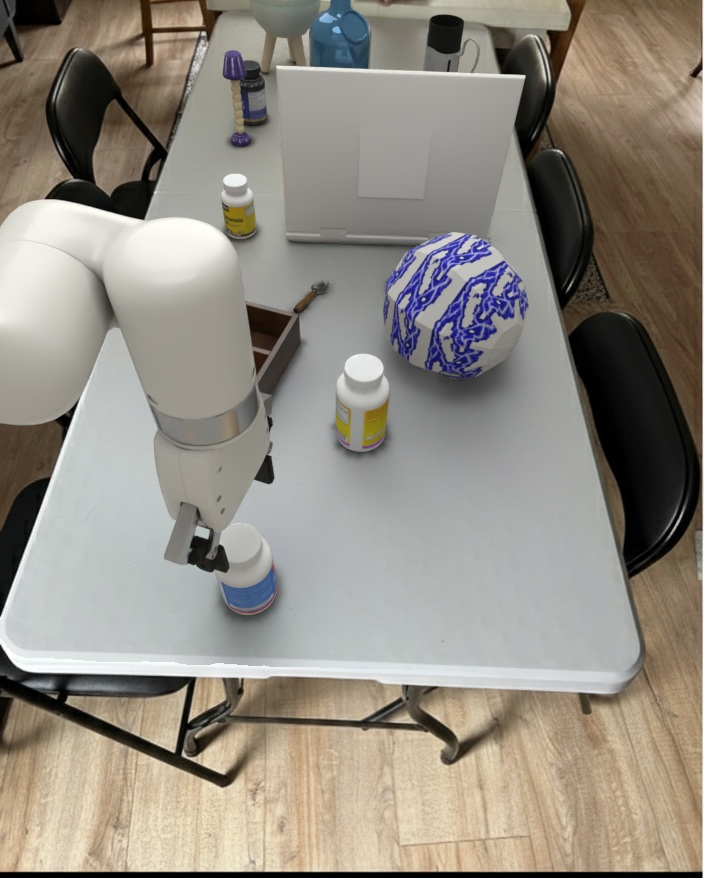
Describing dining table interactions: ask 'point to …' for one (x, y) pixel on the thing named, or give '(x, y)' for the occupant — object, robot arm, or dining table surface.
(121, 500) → the dining table surface
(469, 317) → the ornament
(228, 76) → the toy lamp
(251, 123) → the pill bottle
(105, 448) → the dining table surface
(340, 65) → the wine bottle
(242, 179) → the supplement bottle
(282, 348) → the caddy
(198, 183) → the dining table surface
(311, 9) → the planter
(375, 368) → the supplement bottle
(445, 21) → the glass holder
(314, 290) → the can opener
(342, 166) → the laptop
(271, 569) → the pill bottle
